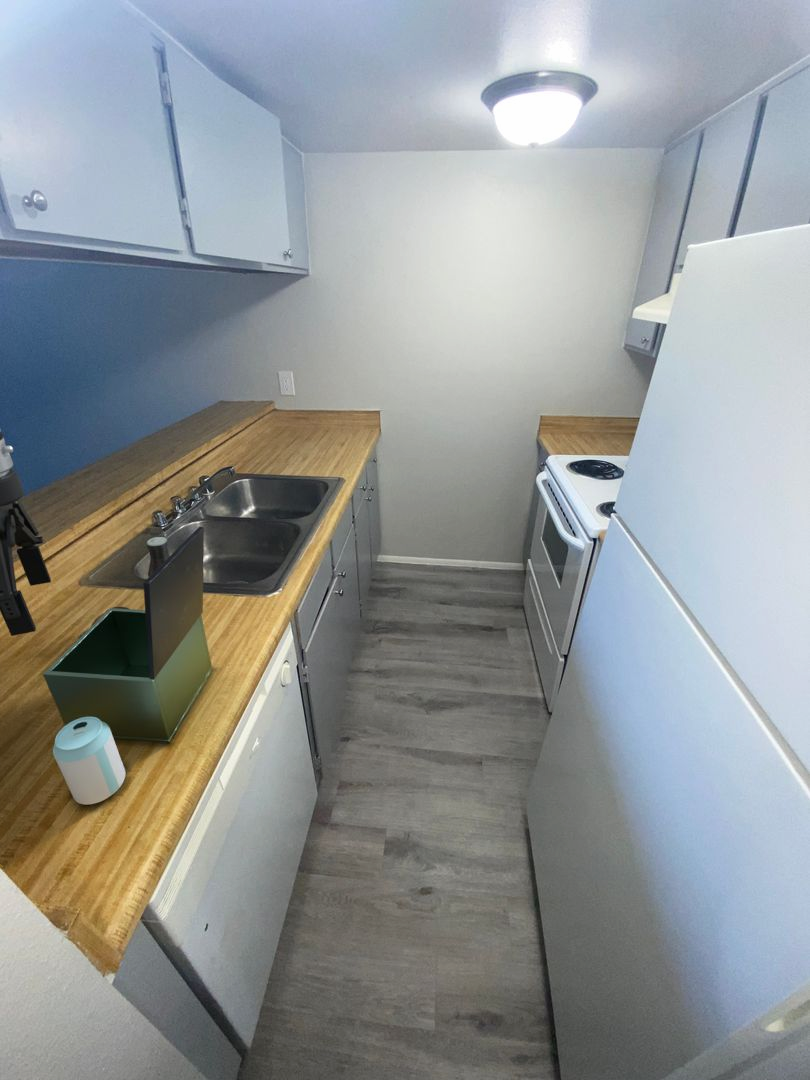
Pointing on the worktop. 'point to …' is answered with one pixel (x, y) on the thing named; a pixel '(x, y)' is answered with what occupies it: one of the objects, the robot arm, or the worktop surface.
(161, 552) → the sauce bottle
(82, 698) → the green open box
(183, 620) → the box lid
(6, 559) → the robot arm
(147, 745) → the worktop surface
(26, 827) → the worktop surface
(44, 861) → the worktop surface
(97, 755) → the can
